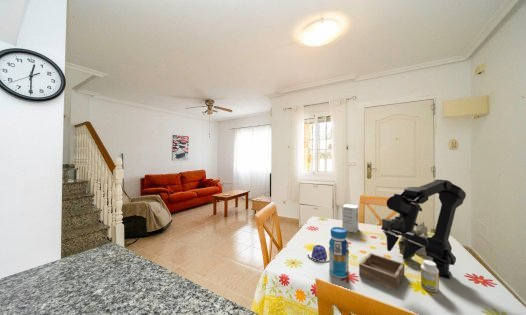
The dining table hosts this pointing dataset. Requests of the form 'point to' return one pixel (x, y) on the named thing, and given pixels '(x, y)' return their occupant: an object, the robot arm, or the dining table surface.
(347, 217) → the supplement box
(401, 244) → the cup
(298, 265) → the dining table surface
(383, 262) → the walnut box
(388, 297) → the dining table surface
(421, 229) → the ceramic cottage
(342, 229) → the beverage bottle
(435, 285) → the supplement bottle
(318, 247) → the purple checkered hat
